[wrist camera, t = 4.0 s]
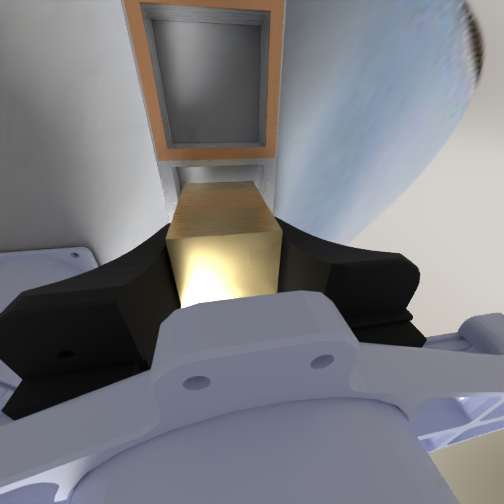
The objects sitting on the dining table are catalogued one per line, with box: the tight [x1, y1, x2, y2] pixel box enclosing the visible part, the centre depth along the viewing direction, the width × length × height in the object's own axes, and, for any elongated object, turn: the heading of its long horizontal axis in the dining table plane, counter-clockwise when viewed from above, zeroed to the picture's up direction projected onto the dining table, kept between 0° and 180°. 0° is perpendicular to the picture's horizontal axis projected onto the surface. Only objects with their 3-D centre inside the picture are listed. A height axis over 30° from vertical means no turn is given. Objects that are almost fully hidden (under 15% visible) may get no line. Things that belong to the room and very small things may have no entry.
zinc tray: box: [121, 0, 287, 223], centre depth 12 cm, size 7×20×2 cm, turn 179°
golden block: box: [165, 181, 283, 308], centre depth 11 cm, size 4×4×6 cm
